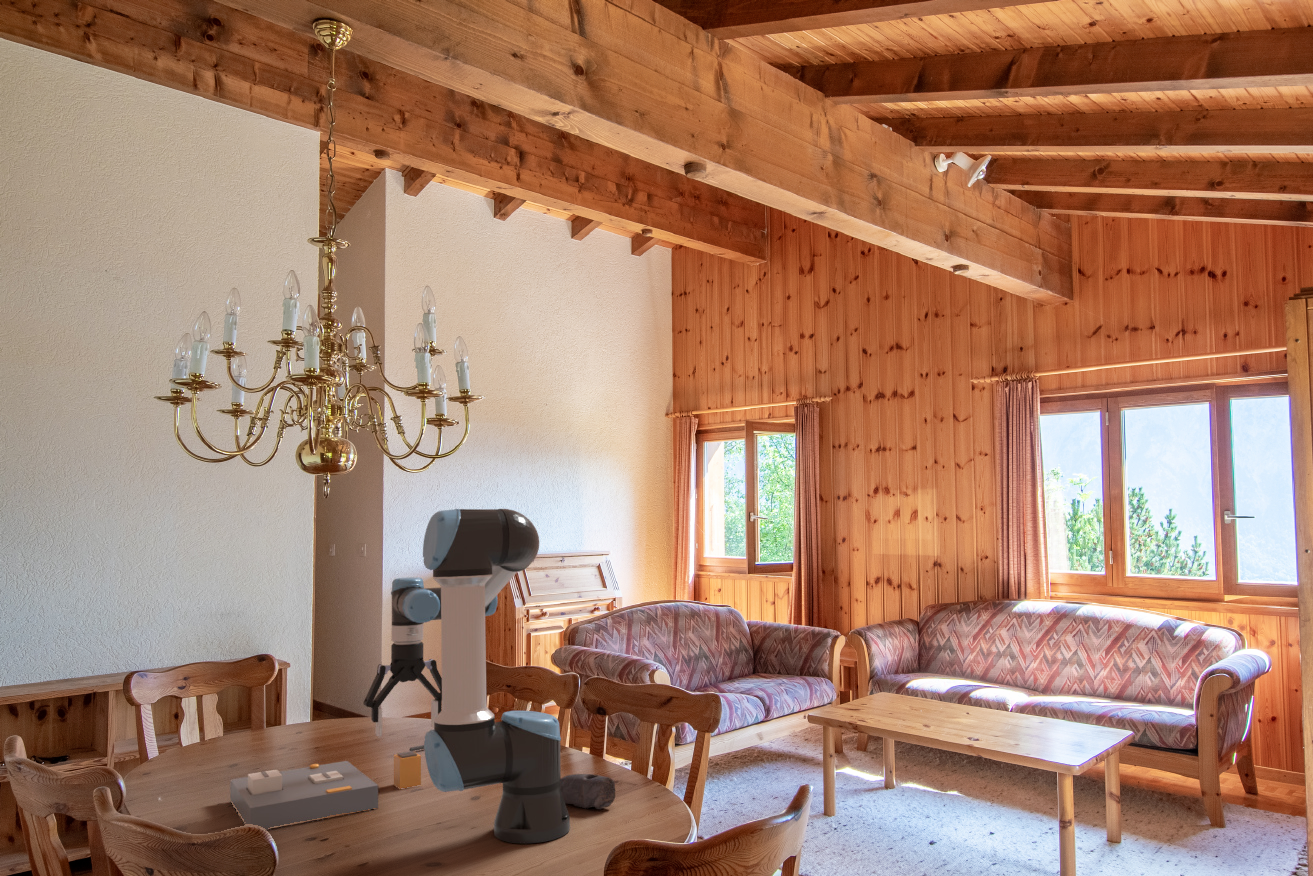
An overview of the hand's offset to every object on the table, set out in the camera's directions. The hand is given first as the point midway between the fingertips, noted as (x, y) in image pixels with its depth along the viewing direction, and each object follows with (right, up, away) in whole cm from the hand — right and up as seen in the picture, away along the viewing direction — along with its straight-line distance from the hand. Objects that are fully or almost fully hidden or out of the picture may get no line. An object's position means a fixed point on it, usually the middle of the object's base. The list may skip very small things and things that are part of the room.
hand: (407, 731), depth 218 cm
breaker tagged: (-15, -11, -13) cm, 22 cm away
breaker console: (-19, -12, -15) cm, 27 cm away
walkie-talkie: (+2, -16, +33) cm, 37 cm away
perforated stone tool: (+44, -10, -20) cm, 50 cm away
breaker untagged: (-26, -8, -19) cm, 33 cm away
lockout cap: (0, -12, -1) cm, 13 cm away
